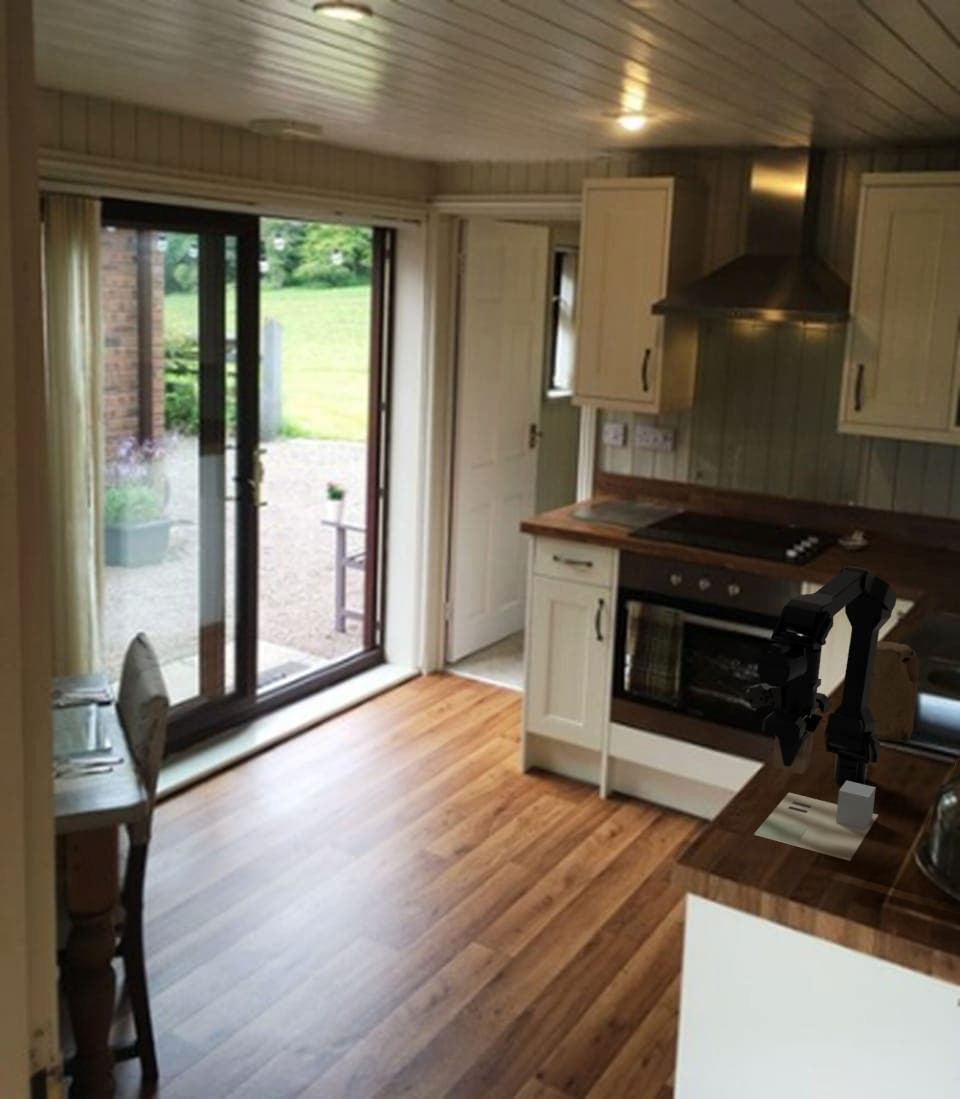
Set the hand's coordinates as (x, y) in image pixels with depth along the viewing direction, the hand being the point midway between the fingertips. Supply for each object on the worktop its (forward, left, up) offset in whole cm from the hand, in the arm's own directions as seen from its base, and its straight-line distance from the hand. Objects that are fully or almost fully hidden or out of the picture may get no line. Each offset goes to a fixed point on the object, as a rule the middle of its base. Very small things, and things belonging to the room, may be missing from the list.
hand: (791, 760), depth 194 cm
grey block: (-8, +10, -12) cm, 17 cm away
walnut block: (0, 0, -1) cm, 1 cm away
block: (-55, +5, -13) cm, 56 cm away
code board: (-3, +5, -13) cm, 14 cm away
